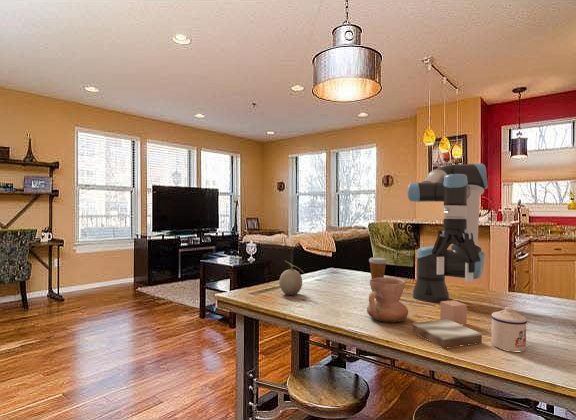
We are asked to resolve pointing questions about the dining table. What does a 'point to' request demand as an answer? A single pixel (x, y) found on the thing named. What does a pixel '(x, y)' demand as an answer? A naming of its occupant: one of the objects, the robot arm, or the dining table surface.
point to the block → (453, 311)
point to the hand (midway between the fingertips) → (453, 278)
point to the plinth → (447, 333)
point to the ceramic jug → (387, 300)
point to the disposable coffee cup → (377, 267)
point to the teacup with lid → (508, 330)
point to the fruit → (290, 281)
